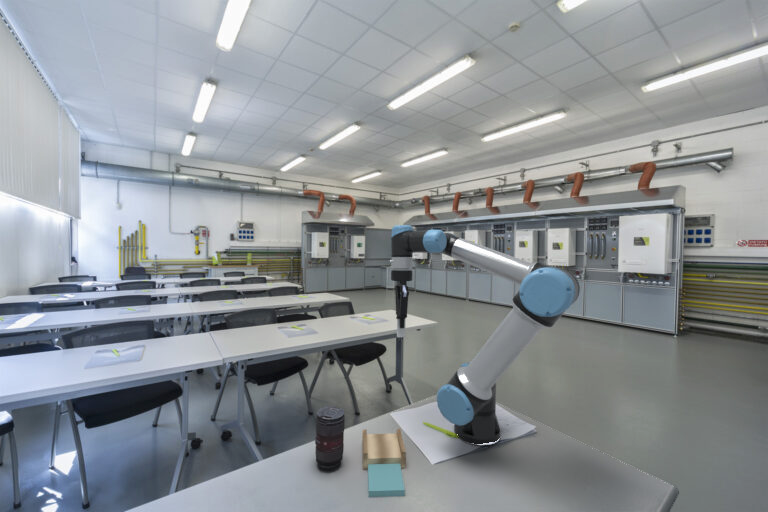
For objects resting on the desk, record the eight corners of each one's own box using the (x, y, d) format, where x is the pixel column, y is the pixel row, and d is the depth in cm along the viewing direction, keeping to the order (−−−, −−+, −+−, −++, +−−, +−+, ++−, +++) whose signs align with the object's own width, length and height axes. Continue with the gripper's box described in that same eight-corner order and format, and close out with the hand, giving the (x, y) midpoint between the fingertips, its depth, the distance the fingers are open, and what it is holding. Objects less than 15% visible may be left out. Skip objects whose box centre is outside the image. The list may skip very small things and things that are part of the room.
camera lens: (338, 476, 85) (339, 421, 85) (310, 471, 87) (311, 417, 87) (347, 457, 93) (348, 407, 93) (321, 453, 95) (322, 403, 95)
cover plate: (399, 470, 89) (400, 463, 89) (404, 497, 79) (404, 490, 79) (367, 471, 88) (368, 464, 88) (368, 499, 78) (368, 491, 78)
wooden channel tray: (399, 442, 101) (400, 428, 101) (405, 467, 89) (405, 452, 89) (362, 443, 100) (362, 429, 100) (363, 469, 88) (363, 453, 88)
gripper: (388, 268, 117) (387, 332, 116) (394, 270, 104) (393, 342, 104) (408, 268, 118) (407, 332, 118) (416, 270, 105) (415, 341, 105)
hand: (401, 336), depth 111 cm, fingers closed
